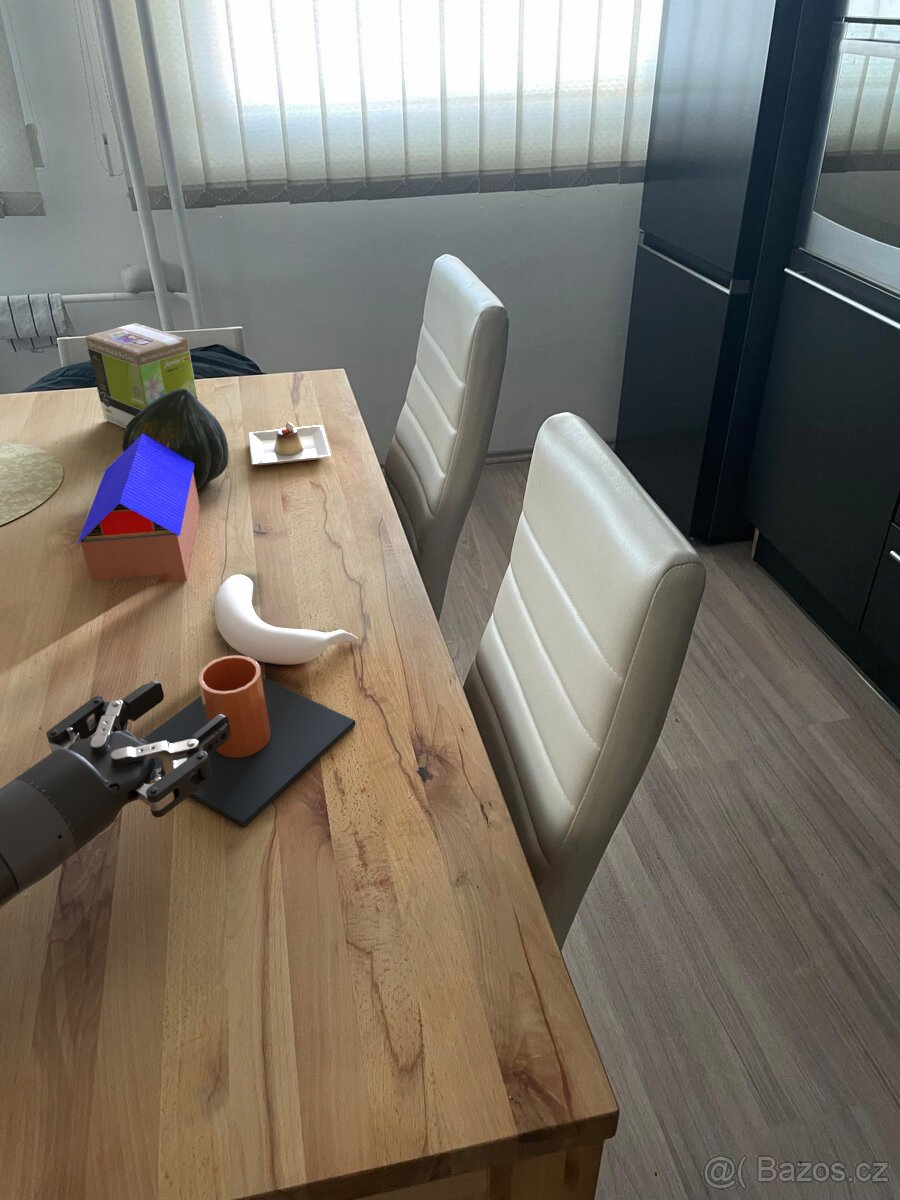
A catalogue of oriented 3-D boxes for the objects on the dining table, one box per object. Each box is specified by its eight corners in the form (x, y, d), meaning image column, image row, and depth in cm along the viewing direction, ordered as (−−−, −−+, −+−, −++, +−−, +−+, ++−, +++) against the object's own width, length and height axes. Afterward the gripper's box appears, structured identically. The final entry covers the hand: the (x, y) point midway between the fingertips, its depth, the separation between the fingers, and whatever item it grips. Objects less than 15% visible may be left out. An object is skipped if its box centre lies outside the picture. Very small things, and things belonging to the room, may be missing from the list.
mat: (123, 758, 89) (121, 753, 88) (240, 670, 100) (239, 666, 99) (243, 827, 81) (242, 822, 81) (355, 724, 92) (355, 720, 92)
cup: (199, 743, 90) (185, 679, 85) (241, 710, 93) (229, 648, 89) (242, 766, 87) (229, 701, 82) (282, 731, 91) (273, 668, 86)
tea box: (204, 424, 154) (189, 338, 146) (153, 444, 148) (135, 354, 140) (152, 402, 163) (135, 319, 154) (102, 420, 156) (81, 334, 148)
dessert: (252, 470, 140) (248, 441, 137) (249, 438, 149) (245, 411, 147) (331, 462, 142) (328, 433, 139) (322, 431, 152) (320, 403, 149)
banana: (205, 594, 112) (321, 570, 116) (235, 693, 98) (366, 661, 102) (199, 561, 109) (318, 537, 113) (229, 658, 95) (364, 627, 99)
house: (90, 590, 113) (66, 507, 107) (116, 512, 130) (97, 436, 123) (189, 581, 114) (171, 499, 108) (202, 506, 131) (188, 429, 124)
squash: (87, 465, 130) (136, 393, 122) (140, 427, 142) (188, 359, 134) (166, 532, 133) (220, 466, 125) (212, 488, 145) (263, 426, 137)
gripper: (87, 825, 66) (244, 701, 78) (-30, 751, 73) (130, 646, 84) (110, 892, 71) (256, 765, 82) (-3, 816, 77) (146, 708, 88)
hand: (192, 705), depth 83 cm, fingers open, 8 cm apart
